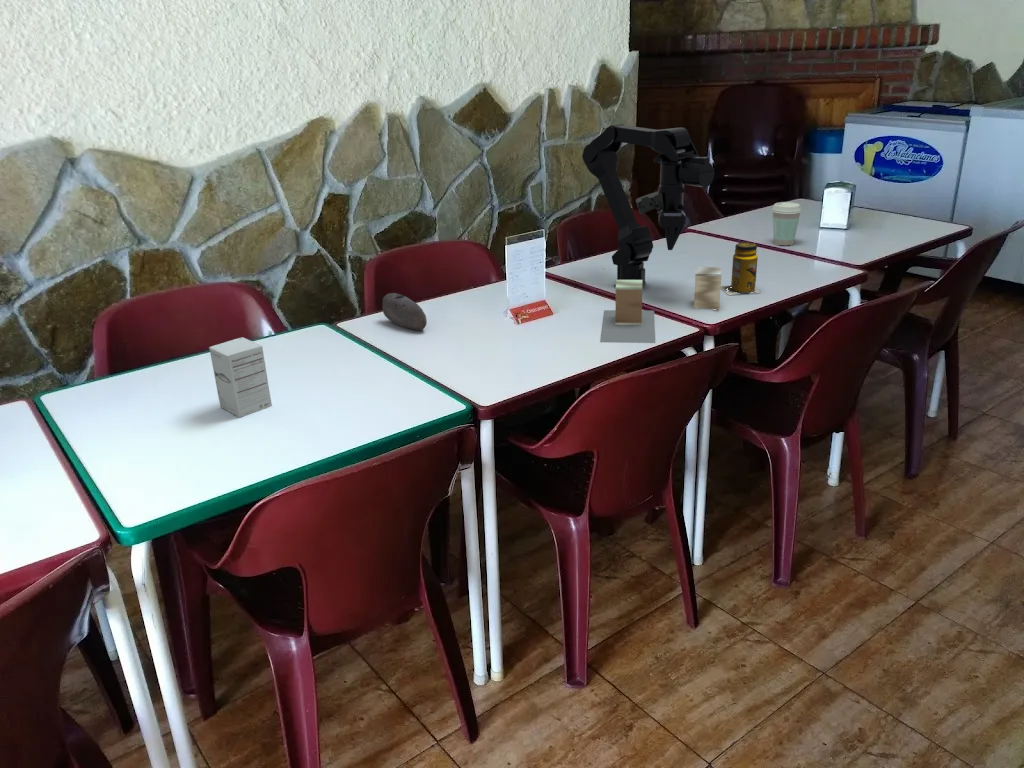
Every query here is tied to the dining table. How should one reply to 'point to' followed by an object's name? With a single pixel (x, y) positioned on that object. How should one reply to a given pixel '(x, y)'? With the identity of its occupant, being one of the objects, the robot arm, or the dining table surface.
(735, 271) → the condiment
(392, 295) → the perforated stone tool
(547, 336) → the dining table surface
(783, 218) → the coffee cup
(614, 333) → the mat
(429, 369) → the dining table surface
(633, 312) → the small carton
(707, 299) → the beech block
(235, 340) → the supplement box
